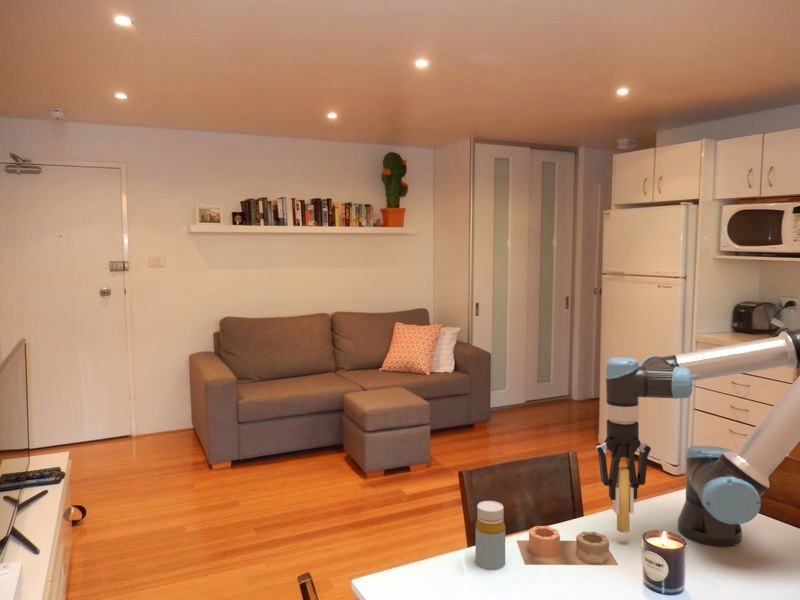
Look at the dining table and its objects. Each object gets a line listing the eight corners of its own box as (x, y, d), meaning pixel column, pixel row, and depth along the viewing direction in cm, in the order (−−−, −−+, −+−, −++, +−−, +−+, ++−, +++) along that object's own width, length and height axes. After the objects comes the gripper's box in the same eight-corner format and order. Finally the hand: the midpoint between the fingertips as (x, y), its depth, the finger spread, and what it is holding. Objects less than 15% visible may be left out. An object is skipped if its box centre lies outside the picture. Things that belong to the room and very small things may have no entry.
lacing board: (603, 545, 153) (603, 540, 153) (618, 569, 142) (618, 564, 141) (516, 544, 154) (516, 540, 154) (524, 569, 142) (524, 564, 142)
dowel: (627, 527, 153) (626, 465, 152) (631, 532, 150) (631, 470, 149) (615, 527, 153) (614, 466, 152) (619, 532, 150) (618, 470, 149)
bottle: (507, 562, 146) (507, 502, 145) (502, 576, 139) (502, 514, 138) (478, 557, 148) (478, 498, 147) (472, 571, 141) (472, 510, 140)
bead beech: (602, 549, 149) (602, 531, 149) (611, 563, 142) (611, 545, 142) (574, 549, 149) (574, 531, 149) (581, 563, 142) (581, 545, 142)
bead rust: (555, 543, 152) (555, 526, 152) (561, 557, 145) (561, 539, 145) (527, 543, 153) (527, 526, 152) (532, 557, 146) (532, 539, 145)
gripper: (648, 415, 153) (649, 504, 155) (586, 416, 154) (587, 506, 156) (660, 423, 146) (661, 517, 148) (594, 425, 146) (595, 518, 148)
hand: (623, 511), depth 152 cm, fingers closed on dowel, 3 cm apart
